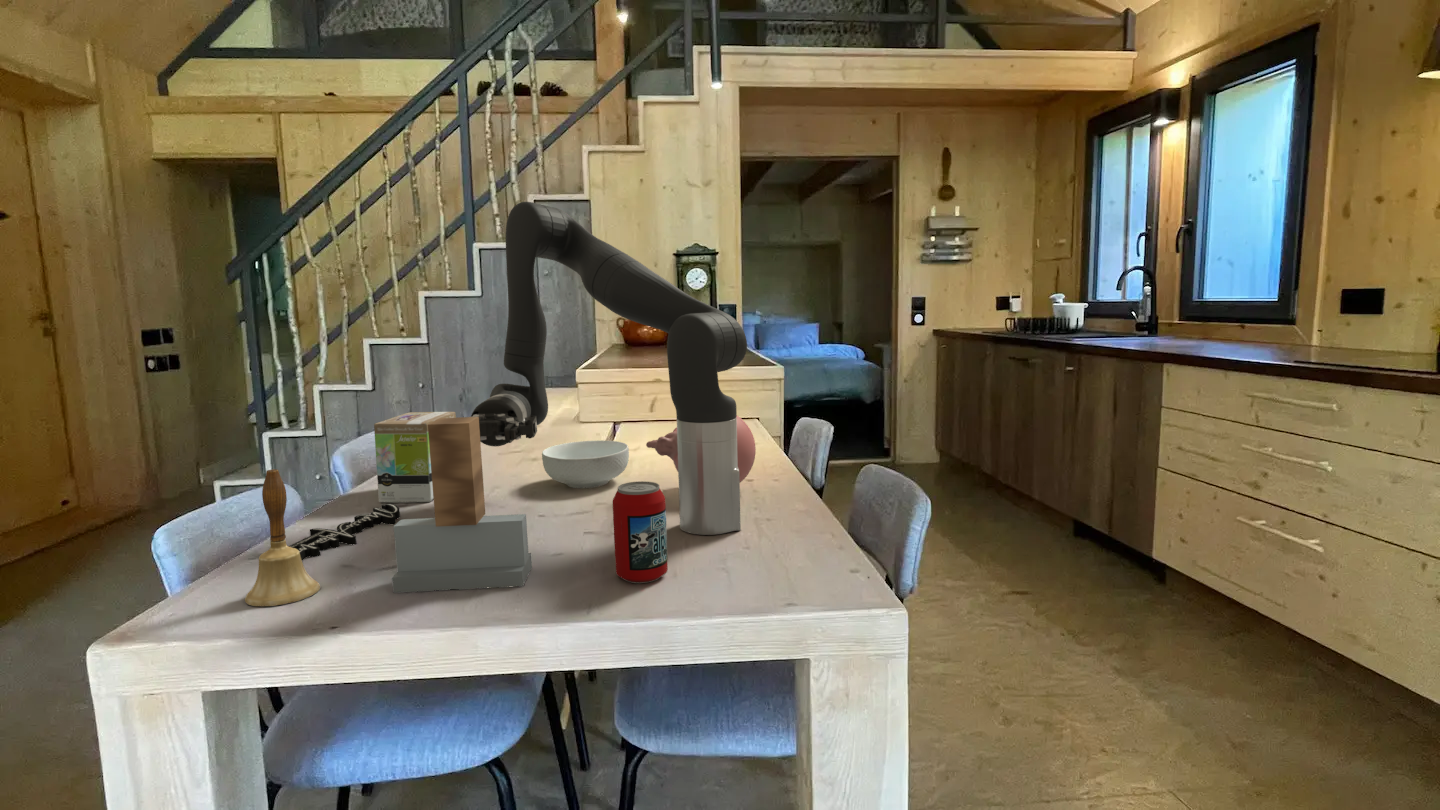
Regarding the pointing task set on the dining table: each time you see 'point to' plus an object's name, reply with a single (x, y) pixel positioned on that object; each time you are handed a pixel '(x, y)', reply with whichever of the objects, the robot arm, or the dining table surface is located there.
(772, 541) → the dining table surface
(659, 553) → the beverage can
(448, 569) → the ridge
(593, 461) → the cereal bowl
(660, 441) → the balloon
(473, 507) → the walnut post
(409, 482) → the tea box
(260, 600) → the hand bell
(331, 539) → the nameplate
